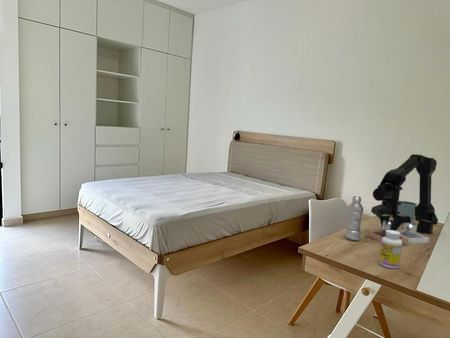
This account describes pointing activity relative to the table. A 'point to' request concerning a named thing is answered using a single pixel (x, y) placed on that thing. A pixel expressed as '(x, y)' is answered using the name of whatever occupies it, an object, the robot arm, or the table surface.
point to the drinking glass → (407, 209)
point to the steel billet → (386, 227)
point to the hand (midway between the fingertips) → (388, 232)
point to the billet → (410, 230)
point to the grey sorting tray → (417, 239)
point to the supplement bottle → (391, 249)
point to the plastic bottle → (354, 219)
